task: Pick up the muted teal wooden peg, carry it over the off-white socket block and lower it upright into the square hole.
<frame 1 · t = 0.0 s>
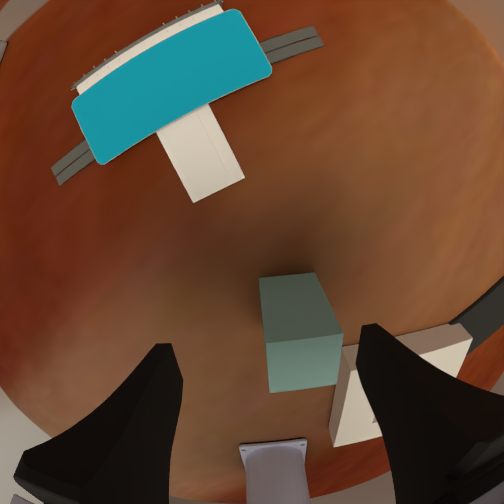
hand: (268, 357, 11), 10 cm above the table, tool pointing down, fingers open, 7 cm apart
phone: (478, 317, 24), on the table
teal flat piece: (178, 108, 17), on the table
socket block: (392, 381, 26), on the table
peg: (287, 299, 21), on the table
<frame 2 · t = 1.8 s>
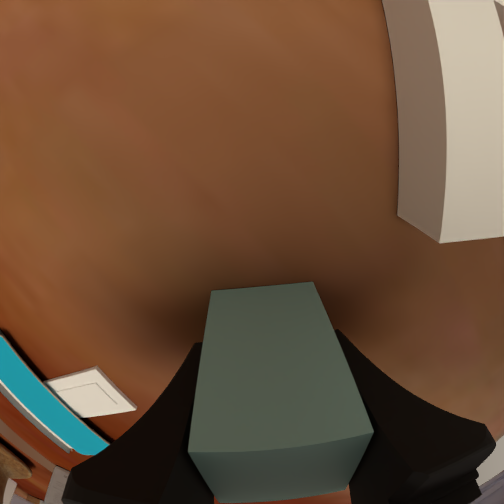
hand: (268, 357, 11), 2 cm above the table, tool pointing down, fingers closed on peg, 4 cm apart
teal flat piece: (64, 392, 15), on the table
skincare box: (74, 477, 22), on the table
socket block: (499, 82, 8), on the table
small box: (42, 501, 35), on the table
peg: (265, 327, 12), on the table, touching gripper
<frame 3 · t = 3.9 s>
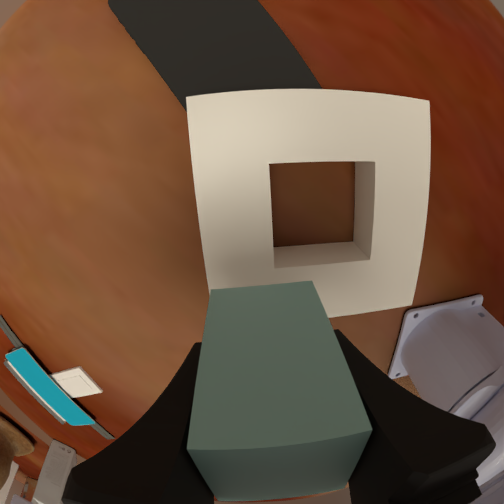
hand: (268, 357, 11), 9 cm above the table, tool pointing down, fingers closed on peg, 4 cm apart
stone cup: (7, 426, 31), on the table
phone: (210, 39, 14), on the table
teal flat piece: (61, 382, 25), on the table
skincare box: (66, 449, 31), on the table
socket block: (312, 201, 18), on the table
small box: (39, 482, 45), on the table
peg: (264, 325, 12), point 7 cm above the table, touching gripper
when the fingers open (4 cm above the table, at t = 6.1 s): peg drops 2 cm, resting in socket block.
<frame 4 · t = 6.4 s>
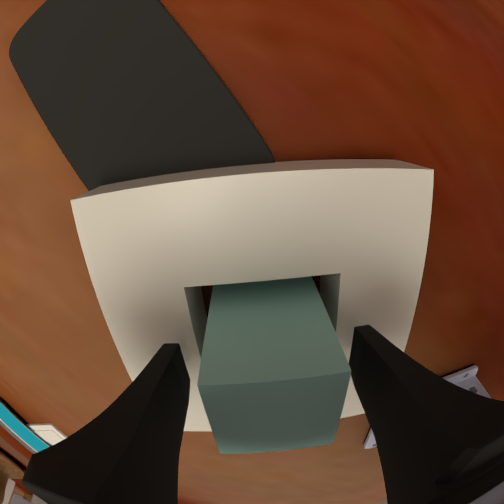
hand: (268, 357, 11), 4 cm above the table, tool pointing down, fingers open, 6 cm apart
stone cup: (0, 452, 28), on the table
phone: (120, 88, 10), on the table
teal flat piece: (39, 429, 21), on the table
skincare box: (55, 478, 28), on the table
socket block: (262, 302, 14), on the table
small box: (36, 497, 42), on the table
peg: (262, 301, 14), resting in socket block
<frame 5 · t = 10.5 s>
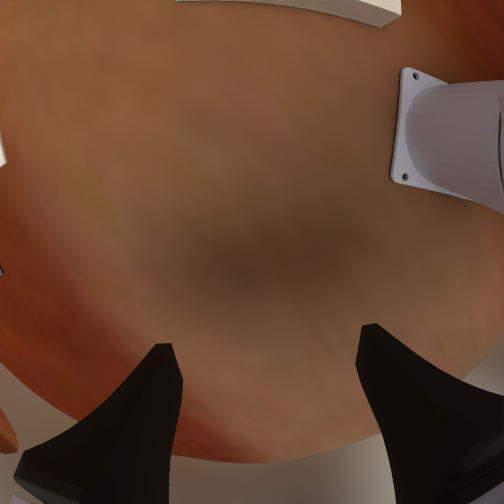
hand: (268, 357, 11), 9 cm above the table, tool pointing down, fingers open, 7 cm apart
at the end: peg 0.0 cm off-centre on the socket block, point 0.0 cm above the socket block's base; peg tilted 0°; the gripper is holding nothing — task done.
